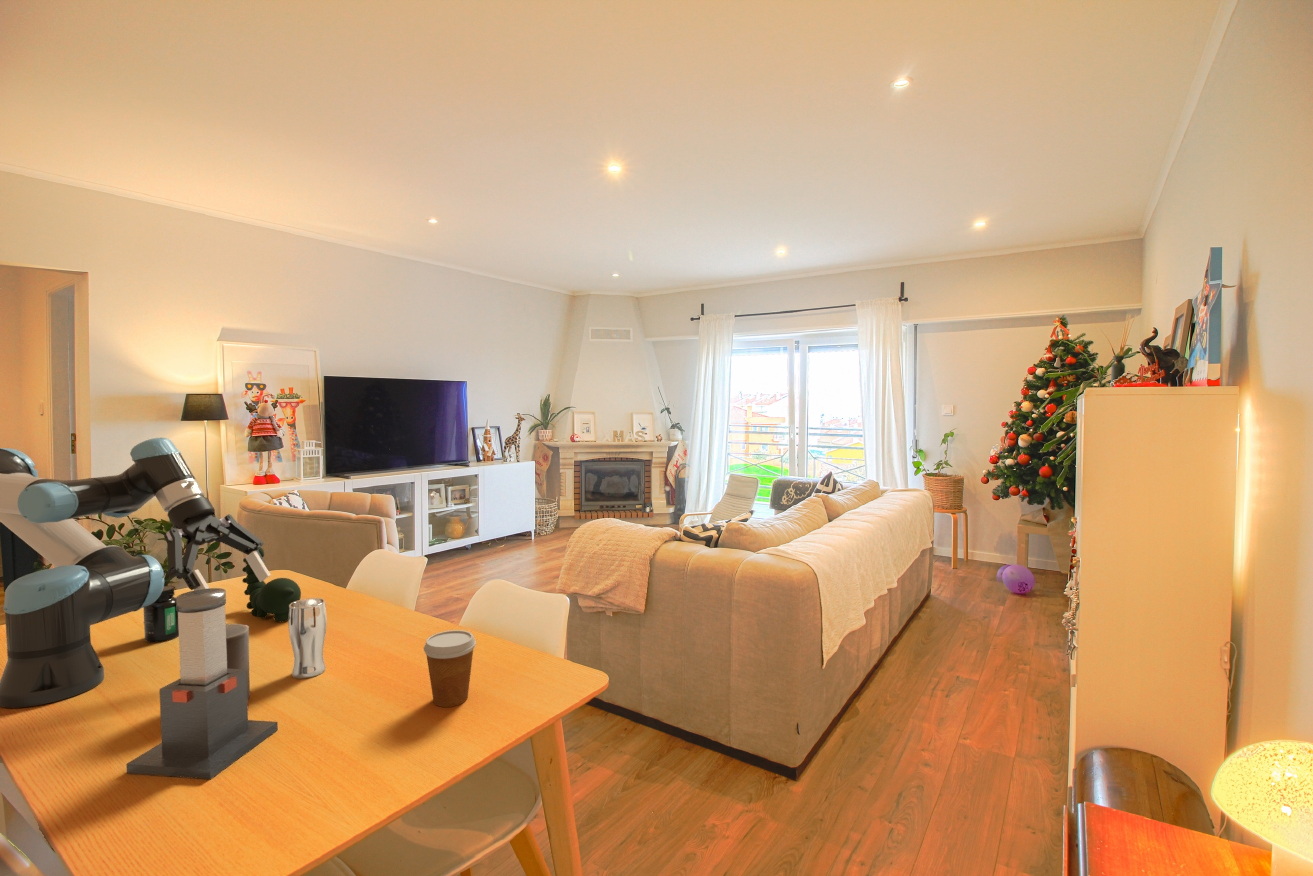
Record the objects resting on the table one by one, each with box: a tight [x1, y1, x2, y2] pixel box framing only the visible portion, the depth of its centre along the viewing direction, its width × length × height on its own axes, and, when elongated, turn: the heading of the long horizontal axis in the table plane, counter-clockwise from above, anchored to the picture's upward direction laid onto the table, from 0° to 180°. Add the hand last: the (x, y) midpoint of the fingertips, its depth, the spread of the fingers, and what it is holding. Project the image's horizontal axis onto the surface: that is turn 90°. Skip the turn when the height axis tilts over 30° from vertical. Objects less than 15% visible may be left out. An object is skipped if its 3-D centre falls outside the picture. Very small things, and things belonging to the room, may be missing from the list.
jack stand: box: [126, 668, 279, 780], centre depth 99 cm, size 14×14×12 cm
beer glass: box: [287, 597, 328, 680], centre depth 128 cm, size 7×7×15 cm
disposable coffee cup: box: [423, 629, 477, 708], centre depth 116 cm, size 10×10×12 cm
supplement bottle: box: [143, 585, 179, 643], centre depth 147 cm, size 7×7×12 cm
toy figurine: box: [241, 546, 302, 623], centre depth 162 cm, size 9×19×25 cm
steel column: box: [175, 587, 227, 687], centre depth 98 cm, size 6×6×24 cm
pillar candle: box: [226, 623, 251, 701], centre depth 115 cm, size 10×10×15 cm
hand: (238, 589), depth 128 cm, fingers open, 13 cm apart
